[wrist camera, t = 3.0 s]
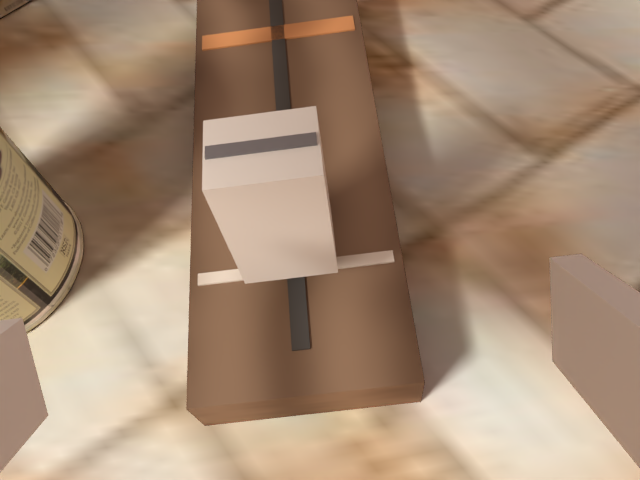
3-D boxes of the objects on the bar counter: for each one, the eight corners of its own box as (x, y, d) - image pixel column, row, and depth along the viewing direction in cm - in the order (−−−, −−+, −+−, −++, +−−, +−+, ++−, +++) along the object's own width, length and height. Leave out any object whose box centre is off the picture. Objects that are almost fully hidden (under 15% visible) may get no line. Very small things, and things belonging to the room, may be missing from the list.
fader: (251, 298, 27) (201, 188, 19) (250, 240, 28) (202, 118, 21) (340, 287, 27) (323, 173, 19) (333, 230, 28) (315, 103, 21)
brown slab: (204, 425, 28) (185, 408, 25) (209, 18, 42) (197, -21, 39) (420, 401, 27) (424, 381, 25) (351, -1, 42) (349, -42, 39)
